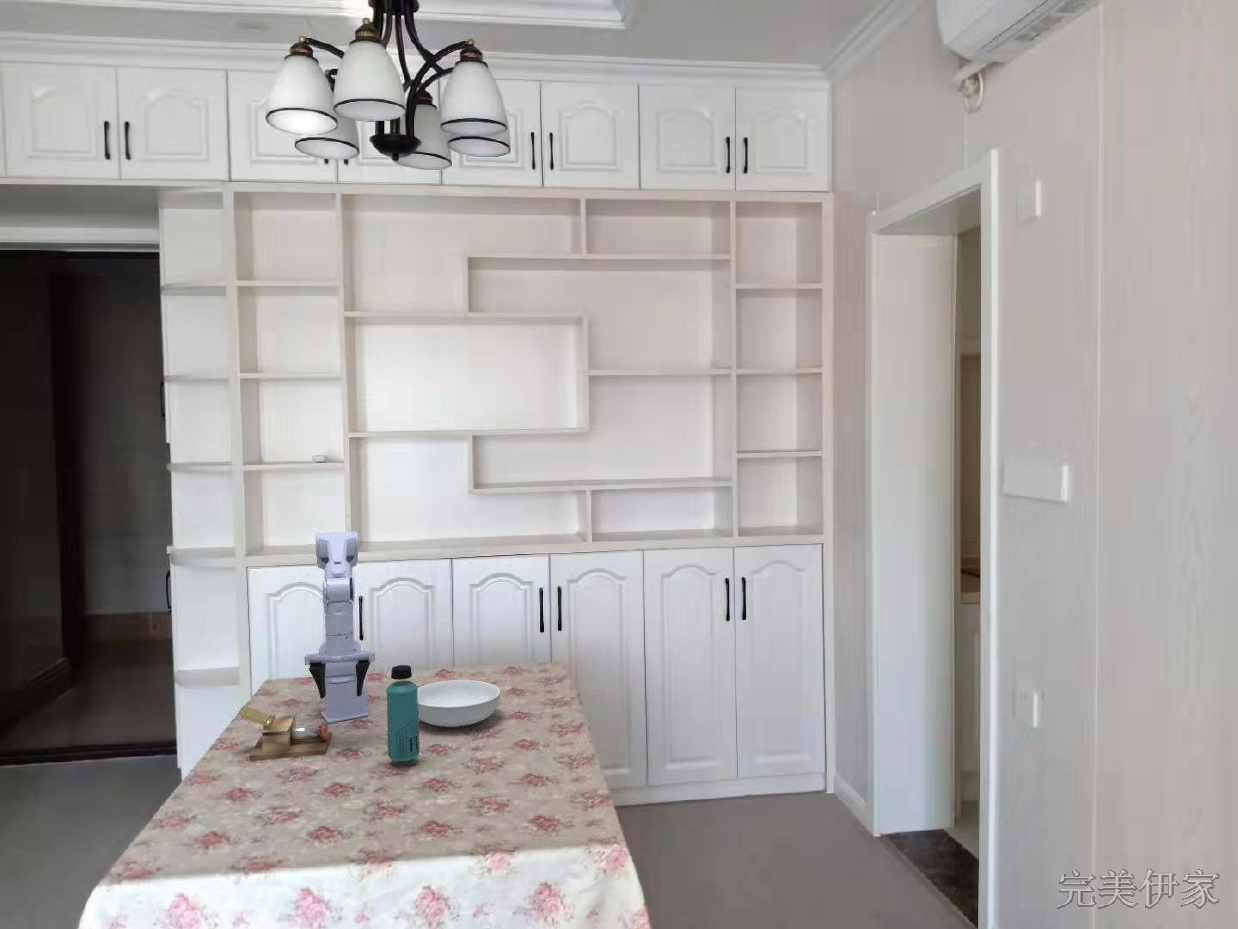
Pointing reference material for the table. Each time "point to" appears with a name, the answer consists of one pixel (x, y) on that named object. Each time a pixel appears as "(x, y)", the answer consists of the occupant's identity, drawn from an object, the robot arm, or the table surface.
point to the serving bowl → (457, 702)
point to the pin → (309, 732)
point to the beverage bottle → (402, 716)
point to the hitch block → (285, 741)
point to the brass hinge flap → (255, 715)
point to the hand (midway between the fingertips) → (341, 696)
